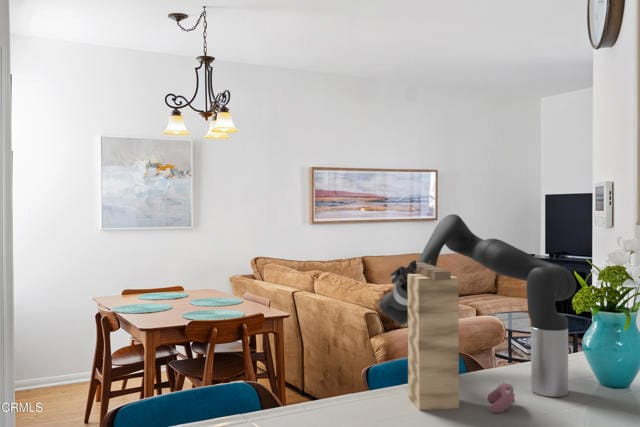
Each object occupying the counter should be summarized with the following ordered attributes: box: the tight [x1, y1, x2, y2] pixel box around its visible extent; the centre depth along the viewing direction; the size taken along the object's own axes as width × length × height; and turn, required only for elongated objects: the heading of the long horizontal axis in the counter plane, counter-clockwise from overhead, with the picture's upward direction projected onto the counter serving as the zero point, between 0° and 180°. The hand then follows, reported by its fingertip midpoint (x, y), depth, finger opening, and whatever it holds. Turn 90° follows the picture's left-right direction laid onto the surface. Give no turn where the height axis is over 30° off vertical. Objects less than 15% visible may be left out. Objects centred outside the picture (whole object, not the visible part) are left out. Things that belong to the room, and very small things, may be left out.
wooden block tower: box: [407, 274, 460, 411], centre depth 153 cm, size 10×10×32 cm
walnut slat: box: [408, 262, 452, 280], centre depth 155 cm, size 22×4×2 cm, turn 7°
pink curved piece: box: [486, 382, 516, 414], centre depth 149 cm, size 10×5×7 cm, turn 169°
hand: (423, 263), depth 160 cm, fingers closed on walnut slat, 4 cm apart
